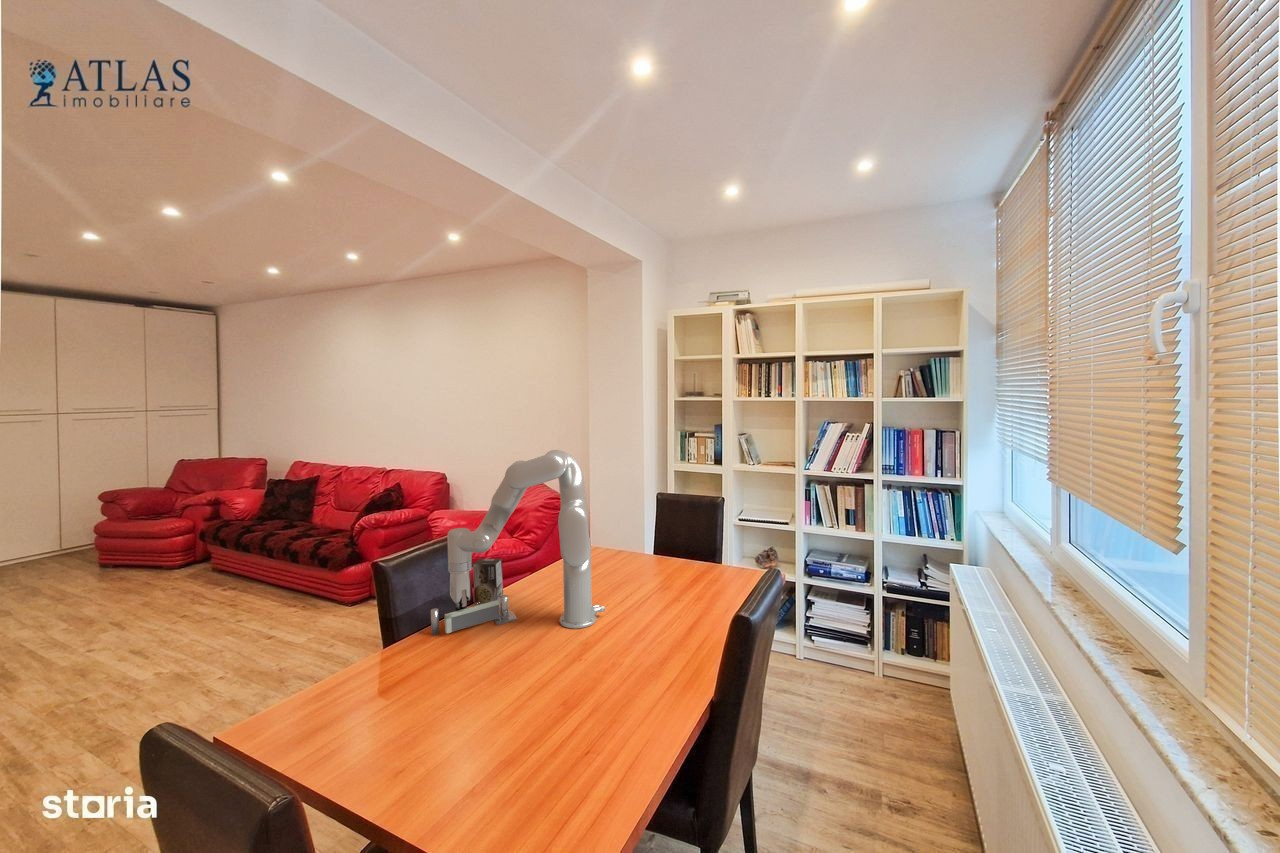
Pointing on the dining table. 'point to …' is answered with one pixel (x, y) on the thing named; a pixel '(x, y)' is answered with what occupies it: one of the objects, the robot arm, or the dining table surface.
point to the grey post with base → (505, 612)
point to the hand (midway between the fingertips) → (461, 618)
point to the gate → (471, 616)
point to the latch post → (435, 621)
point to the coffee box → (487, 580)
